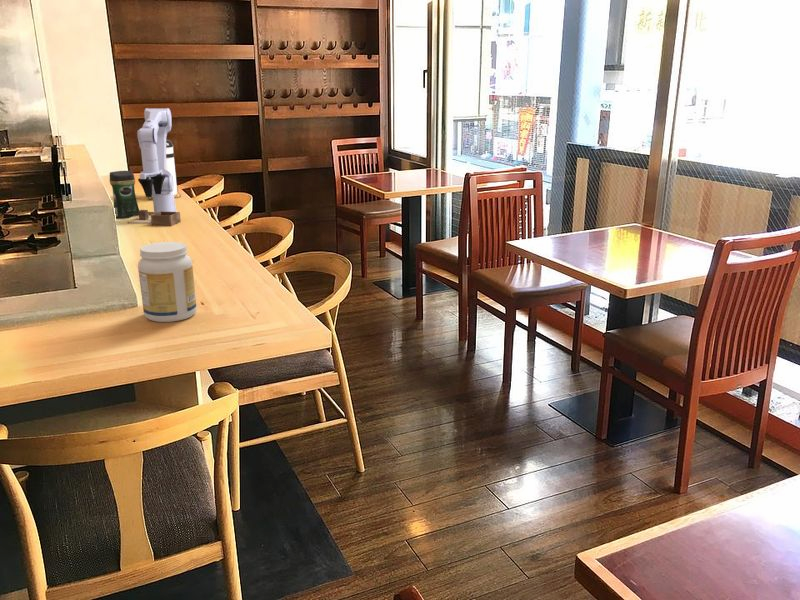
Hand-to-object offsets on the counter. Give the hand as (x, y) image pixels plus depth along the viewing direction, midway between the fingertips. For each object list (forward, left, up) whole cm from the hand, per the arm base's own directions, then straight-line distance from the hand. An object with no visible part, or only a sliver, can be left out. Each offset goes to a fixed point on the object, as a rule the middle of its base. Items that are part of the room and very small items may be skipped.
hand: (153, 195), depth 265 cm
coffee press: (-51, -22, -11) cm, 57 cm away
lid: (+3, -4, -10) cm, 11 cm away
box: (+6, +7, -10) cm, 14 cm away
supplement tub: (+105, +56, -11) cm, 119 cm away
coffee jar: (-8, -17, -11) cm, 22 cm away
